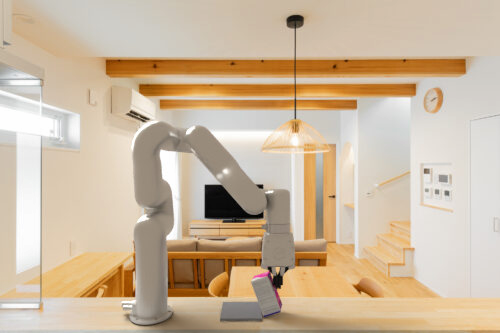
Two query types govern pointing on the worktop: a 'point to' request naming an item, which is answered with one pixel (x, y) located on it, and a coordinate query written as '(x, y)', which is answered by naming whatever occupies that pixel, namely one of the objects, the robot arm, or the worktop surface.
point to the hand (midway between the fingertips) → (277, 287)
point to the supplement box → (266, 294)
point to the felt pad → (241, 311)
